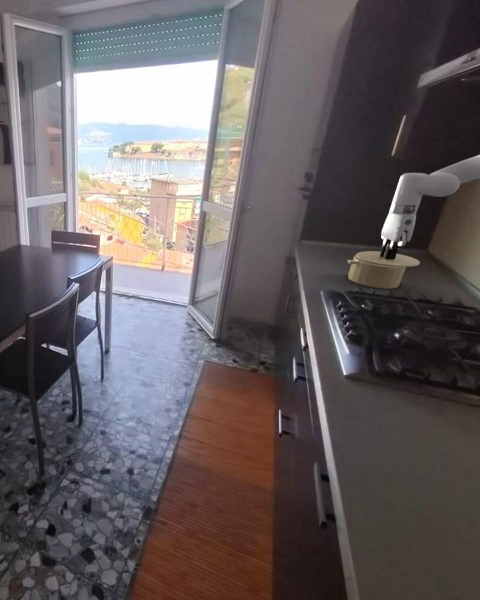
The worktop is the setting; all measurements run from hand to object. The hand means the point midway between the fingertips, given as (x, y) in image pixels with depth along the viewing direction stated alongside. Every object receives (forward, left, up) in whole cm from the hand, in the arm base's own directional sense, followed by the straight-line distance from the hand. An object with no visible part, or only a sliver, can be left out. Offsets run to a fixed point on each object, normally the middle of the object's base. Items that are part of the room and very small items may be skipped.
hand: (387, 257), depth 136 cm
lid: (0, 0, -1) cm, 1 cm away
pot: (+18, -9, -16) cm, 26 cm away
